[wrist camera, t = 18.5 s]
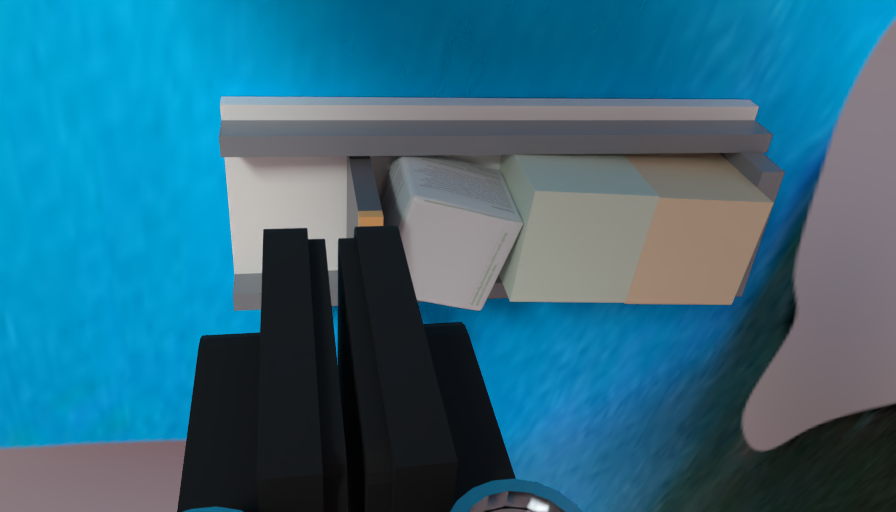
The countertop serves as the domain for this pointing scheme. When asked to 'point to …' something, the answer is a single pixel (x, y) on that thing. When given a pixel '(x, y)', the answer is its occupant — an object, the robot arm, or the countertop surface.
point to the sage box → (575, 227)
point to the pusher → (362, 195)
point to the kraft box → (696, 229)
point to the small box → (451, 226)
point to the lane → (442, 153)
